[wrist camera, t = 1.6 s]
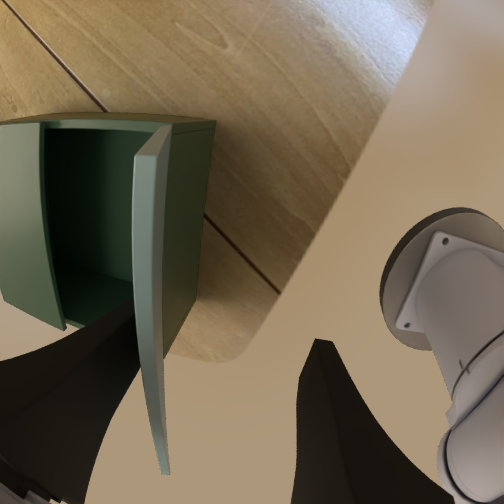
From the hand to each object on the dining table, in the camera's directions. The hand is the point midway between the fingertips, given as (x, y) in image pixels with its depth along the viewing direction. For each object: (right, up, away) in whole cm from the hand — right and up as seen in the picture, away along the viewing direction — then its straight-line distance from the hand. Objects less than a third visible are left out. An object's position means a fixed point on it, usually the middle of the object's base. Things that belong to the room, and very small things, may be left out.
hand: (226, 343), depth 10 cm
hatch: (-3, +1, 0) cm, 3 cm away
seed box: (-9, +7, +10) cm, 15 cm away
